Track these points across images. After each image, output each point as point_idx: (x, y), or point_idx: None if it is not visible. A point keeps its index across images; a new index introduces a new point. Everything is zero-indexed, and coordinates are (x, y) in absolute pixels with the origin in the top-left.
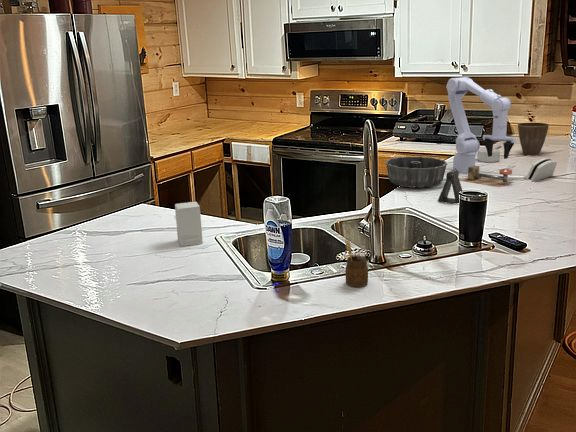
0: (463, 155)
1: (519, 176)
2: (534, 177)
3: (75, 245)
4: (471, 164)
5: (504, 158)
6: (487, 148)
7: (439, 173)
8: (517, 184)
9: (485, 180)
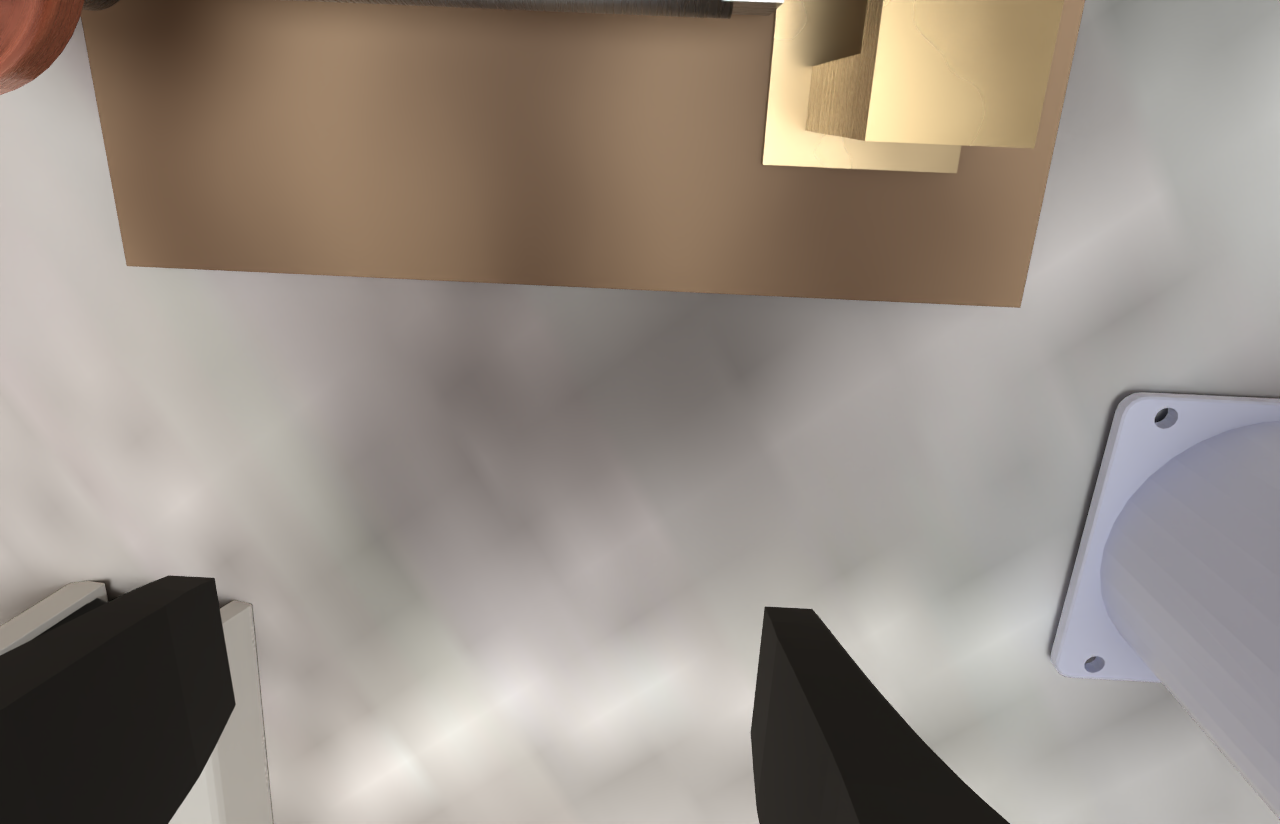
0: None
1: (416, 762)
2: (5, 629)
3: None
4: (1246, 590)
5: (190, 577)
6: (915, 800)
7: None
8: (92, 266)
9: (609, 51)
